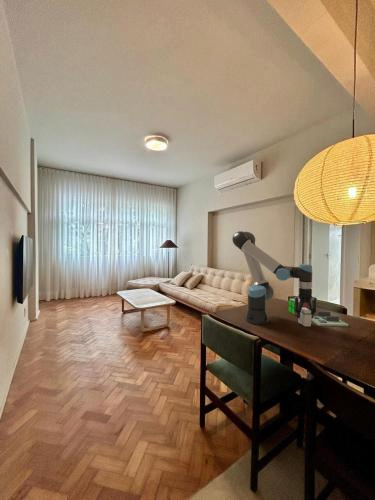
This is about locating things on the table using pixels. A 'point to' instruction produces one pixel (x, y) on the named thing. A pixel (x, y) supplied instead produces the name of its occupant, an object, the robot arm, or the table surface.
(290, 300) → the puzzle cube
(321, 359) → the table surface
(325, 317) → the board
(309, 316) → the plug
